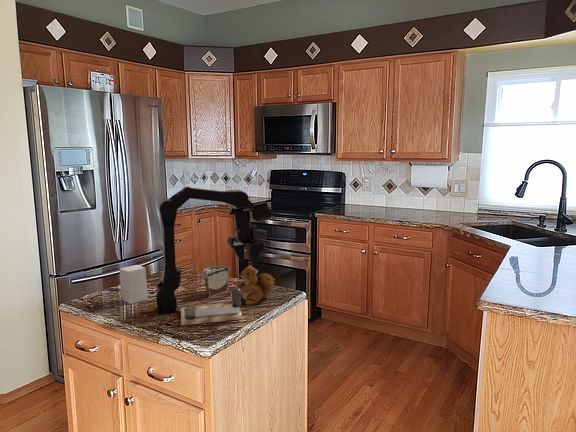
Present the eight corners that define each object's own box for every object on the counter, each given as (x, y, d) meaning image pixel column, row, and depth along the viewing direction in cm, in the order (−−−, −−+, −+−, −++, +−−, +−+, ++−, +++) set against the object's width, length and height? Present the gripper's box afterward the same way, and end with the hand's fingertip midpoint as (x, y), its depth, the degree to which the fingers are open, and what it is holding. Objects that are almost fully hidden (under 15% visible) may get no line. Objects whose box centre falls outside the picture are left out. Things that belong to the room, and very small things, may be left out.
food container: (220, 287, 185) (219, 263, 183) (230, 290, 181) (229, 266, 179) (196, 295, 175) (195, 270, 174) (206, 298, 171) (205, 273, 170)
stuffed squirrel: (233, 297, 172) (232, 264, 170) (267, 292, 178) (267, 260, 175) (242, 306, 163) (241, 271, 161) (277, 300, 169) (277, 266, 166)
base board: (181, 325, 146) (181, 320, 146) (180, 312, 158) (180, 307, 157) (242, 319, 151) (242, 314, 151) (237, 306, 162) (237, 302, 162)
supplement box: (148, 299, 171) (146, 267, 169) (129, 304, 166) (127, 271, 164) (139, 295, 176) (137, 264, 174) (121, 299, 171) (118, 267, 169)
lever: (184, 319, 146) (183, 295, 145) (184, 315, 150) (183, 292, 149) (241, 313, 151) (241, 290, 150) (240, 309, 154) (239, 287, 153)
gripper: (275, 222, 160) (280, 264, 163) (249, 217, 175) (255, 255, 178) (248, 229, 154) (254, 272, 157) (224, 223, 169) (230, 262, 172)
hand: (248, 264), depth 166 cm, fingers open, 9 cm apart
